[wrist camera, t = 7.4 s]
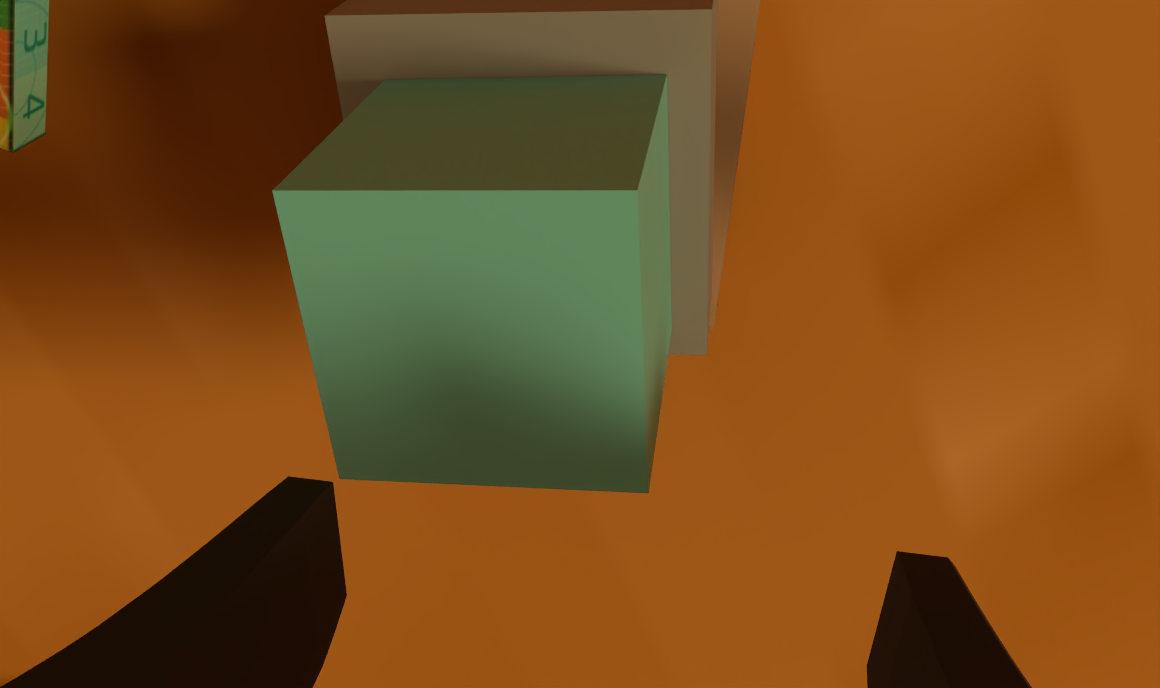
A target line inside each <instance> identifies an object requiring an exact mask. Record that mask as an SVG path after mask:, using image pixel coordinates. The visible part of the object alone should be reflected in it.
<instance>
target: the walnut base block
mask: <svg viewBox="0 0 1160 688" xmlns="http://www.w3.org/2000/svg"><path fill="white" fill-rule="evenodd" d="M760 3H761V0H717V47H716V103H715V158H714V214H713V269H712V296H711V309H710V321H709V328H713V329H714V323H715V316H716V309H717V302H718V295H719V288H720V281H721V274H722V267H723V260H724V253H725V247H726V240H727V233H728V226H729V219H730V212H731V205H732V198H733V191H734V184H735V177H736V170H737V163H738V156H739V149H740V142H741V135H742V128H743V121H744V114H745V107H746V100H747V93H748V86H749V79H750V72H751V65H752V58H753V51H754V44H755V37H756V30H757V24H758V17H759V10H760Z"/></svg>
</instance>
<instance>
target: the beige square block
mask: <svg viewBox="0 0 1160 688" xmlns="http://www.w3.org/2000/svg"><path fill="white" fill-rule="evenodd" d="M325 22H326V28H327V33H328V39H329V45H330V50H331V56H332V62H333V67H334V73H335V78H336V84H337V90H338V95H339V101H340V107H341V112H342V118H343V120H344V119H345V118H346V117H348V116H349V115H350V114H351V113H352V112H353V111H354V110H355V109H356V108H357V107H358V106H359V105H360V104H361V103H362V102H363V101H364V100H365V99H366V98H367V97H368V96H369V95H370V94H371V93H372V92H373V91H374V90H375V89H376V88H377V87H378V86H379V85H380V84H381V83H382V82H383V81H384V80H395V79H449V78H503V77H558V76H612V75H666V74H667V105H668V158H669V210H670V263H671V316H672V330H671V337H670V344H669V351H668V354H686V355H707V345H708V333H709V321H710V309H711V296H712V269H713V214H714V158H715V103H716V47H717V0H346V1H344V2H343V3H342V4H340V5H339V6H337V7H336V8H335V9H333V10H332V11H330V12H329V13H327V14H326V15H325Z"/></svg>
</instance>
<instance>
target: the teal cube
mask: <svg viewBox="0 0 1160 688" xmlns="http://www.w3.org/2000/svg"><path fill="white" fill-rule="evenodd" d="M272 192H273V196H274V200H275V205H276V209H277V213H278V218H279V222H280V226H281V230H282V235H283V239H284V243H285V248H286V252H287V256H288V260H289V265H290V269H291V273H292V277H293V282H294V286H295V290H296V295H297V299H298V303H299V307H300V312H301V316H302V320H303V324H304V329H305V333H306V337H307V342H308V346H309V350H310V354H311V359H312V363H313V367H314V371H315V376H316V380H317V384H318V389H319V393H320V397H321V401H322V406H323V410H324V414H325V418H326V423H327V427H328V431H329V436H330V440H331V444H332V448H333V453H334V457H335V461H336V465H337V470H338V474H339V478H340V479H353V480H374V481H396V482H417V483H439V484H461V485H482V486H504V487H525V488H547V489H568V490H590V491H612V492H633V493H649V486H650V479H651V472H652V465H653V458H654V450H655V443H656V436H657V429H658V422H659V415H660V408H661V401H662V394H663V387H664V380H665V373H666V366H667V358H668V351H669V344H670V337H671V330H672V316H671V263H670V210H669V158H668V105H667V74H666V75H612V76H558V77H503V78H449V79H395V80H384V81H383V82H382V83H381V84H380V85H379V86H378V87H377V88H376V89H375V90H374V91H373V92H372V93H371V94H370V95H369V96H368V97H367V98H366V99H365V100H364V101H363V102H362V103H361V104H360V105H359V106H358V107H357V108H356V109H355V110H354V111H353V112H352V113H351V114H350V115H349V116H348V117H346V118H345V119H344V120H343V121H342V122H341V123H340V124H339V125H338V126H337V127H336V128H335V129H334V130H333V131H332V132H331V133H330V134H329V135H328V136H327V137H326V138H325V139H324V140H323V141H322V142H321V143H320V144H319V145H318V146H317V147H316V148H315V149H314V150H313V151H312V152H311V153H310V154H309V155H308V156H307V157H306V158H305V159H304V160H303V161H302V162H301V163H300V164H299V165H298V166H297V167H296V168H295V169H294V170H293V171H292V172H291V173H290V174H289V175H288V176H286V177H285V178H284V179H283V180H282V181H281V182H280V183H279V184H278V185H277V186H276V187H275V188H274V189H273V190H272Z"/></svg>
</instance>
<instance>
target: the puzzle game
mask: <svg viewBox="0 0 1160 688" xmlns="http://www.w3.org/2000/svg"><path fill="white" fill-rule="evenodd" d="M48 28H49V0H0V148H1V149H4V150H7V151H10V152H13V153H14V152H16V151H17V150H19V149H21V148H22V147H24V146H26V145H28V144H29V143H31V142H33V141H34V140H36V139H38V138H39V137H41V136H43V135H45V131H46V96H47V62H48Z"/></svg>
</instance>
